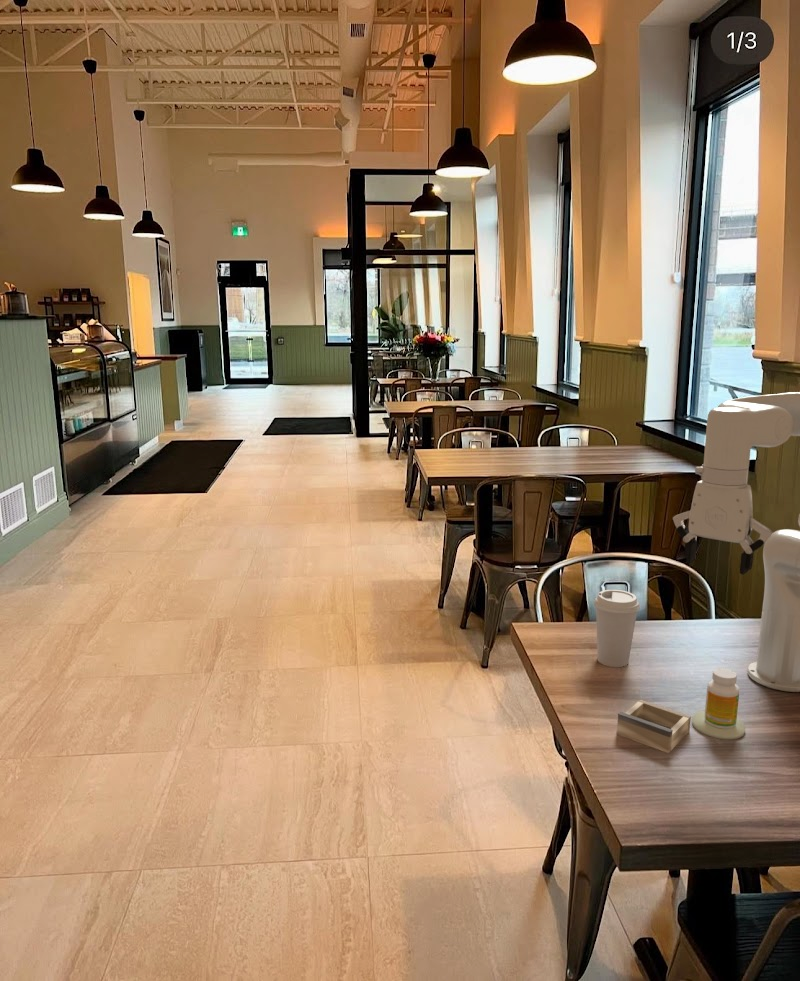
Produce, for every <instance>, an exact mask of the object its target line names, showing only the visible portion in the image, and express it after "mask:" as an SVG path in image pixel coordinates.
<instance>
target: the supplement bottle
mask: <svg viewBox="0 0 800 981" xmlns="http://www.w3.org/2000/svg"><path fill="white" fill-rule="evenodd" d="M737 675H738V674H737V673H736V672H734V671H733V670H730V669H726V668H715V669H713V671H712V675H711V676H712V679H711V680H710V681H708V683H707V688H706V696H705V705H704V706H705V709H704V710H705V721H706V722H707V723H708V724H709V725H711V726H713V727H716V728H720V729H731V728H733V727H735V725H736V721H737V718H738V710H739V709H738V707H739V699H740V687H739V686H738V685H737V679H738V678H737V677H738V676H737Z"/></svg>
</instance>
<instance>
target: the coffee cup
mask: <svg viewBox="0 0 800 981" xmlns="http://www.w3.org/2000/svg"><path fill="white" fill-rule="evenodd" d="M593 606H595V613H596V614H595V615H596V616H595V620H596V646H597V648H596V649H597V661H598V662H599V663H600V664H602V665H604V666H606V667H611V668H624V667H626V666H628V665H629V662H630V656H631V650H632V644H633V638H634V632H635V626H636V619H637V614H638V612H639V610H640V609H641V606H640V603H639V600H638V599H637V596H636V595H635V594H634V593H632V592H629V591H626V590H621V589H620V590H619V589H606V590H605V589H604V590H601V591H599V592H598V594H597V596H596V597H595V599H594V601H593ZM627 664H628V665H627ZM623 666H624V667H623Z"/></svg>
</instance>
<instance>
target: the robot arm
mask: <svg viewBox="0 0 800 981" xmlns="http://www.w3.org/2000/svg"><path fill="white" fill-rule="evenodd" d="M705 430H706V431H705V442H704V454H703V455H704V456H703V464H702V465H701V466H696V467H695V468H694V473H695V475H699V476H700V479H701V480H699V481H697V482H696V483H695V484H696V485H695V488H694V491H693V496H692V502H691V505H690V510H687V511H684V512H682V513H679V514H676V515H673V516H672V520H673V523H674V525H675V528H676V531H677V533H678V534H679V535H680V536H681V538H682V541H683V542H684V543H685V544H684V554H683V555H684V558H686V560H685V561H686V562H685V563H686V564H689V565H690V564H692V563H693V562H695V561H696V559H697V548H698V541H697V539H696V538H697V537H701V538H705V539H711V540H718V541H722V542H729V543H737V544H739V545H740V547H741V548H742V549H743V551H742V553H741V555H740V565H739V574H740V575H743V576H744V575H746V574H747V572H749V570H752V568H753V562H754V552H755V551H757V550H758V549H759V548H761V547H762V546H763V550H762V560H763V565H764V566H763V567H764V568H763V569H764V590H763V591H764V592H763V601H762V610H761V618H760V631H759V638H758V648H757V656H756V661H754V662H752V663H749V665H748V666H747V670H746V671H747V675H748V676H749V677H750V679H751V680H752V681H755V683H757V684H759V685H762V686H764V687H766V688H769V689H773V690H777V691H783V692H788V693H789V692H792V693H799V692H800V530H798V529H797V530H796V529H792V528H791V529H790V528H787V529H786V528H784V529H777V530H776V531H774V532H773V531H772V530H771V529H770V528H769V527H768V526H765V525H764V524H762V523H761V522H759V521H757V519H755V518H753V517H754V515H753V514H754V512H753V510H754V508H753V507H754V506H753V494H752V493H753V492H752V487H751V485H750V484H748V480H749V467H750V460H751V459H750V458H751V449H752V447H760V448H776V447H778V446H780V445H782V444H784V443H786V442H788V440H789V439H790V437H800V391H799V392H798V391H797V392H795V391H794V392H782V393H777V394H776V393H774V394H763V395H752V396H750V395H749V396H745V397H744V396H743V397H739V398H738V397H737V398H733V399H728V400H725V401H723V402H722V403H720V404H719V405H717V406H716V407H714V408H711V409H710V411H708V414H707V418H706V429H705ZM797 519H798V520H797V524H798V526H799V527H800V513H799V514H798V518H797ZM685 520H688V527H687V526H686V525H685V523H684V521H685ZM752 531H755V532H757V533H759V537H758V539H757V540H755V541H753V539H752V538H751V537H750V536H751V535H752Z"/></svg>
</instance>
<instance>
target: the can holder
mask: <svg viewBox="0 0 800 981" xmlns="http://www.w3.org/2000/svg"><path fill="white" fill-rule="evenodd" d="M691 722H692V716H691V715H687V714H685V713H681V712H680V711H676V710H673V709H670V708H668V707H664V706H661V705H658V704H655V703H652V702H650V701H645V700H643V699H639V700H638V701H637V702H635V704H633V705H632V706H631V707H630V708H629V709H627V710H626V712H624V711H623V712H622V711H620V712H619V713H617V727H616V735H619V736H620V737H624V738H626V739H629V740H631V741H634V742H637V743H640V744H643V745H645V746H648V747H650V748H653V749H656V750H659V751H662V752H663V753H667V754H670V753H671V751H673V749H674V748H675V747H676V746H677V745H678V744H679V743H680V742H681V741H682V740H683V739H684V738H685V737H686V736H687V735H688V734H689V733H690V729H691Z"/></svg>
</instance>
